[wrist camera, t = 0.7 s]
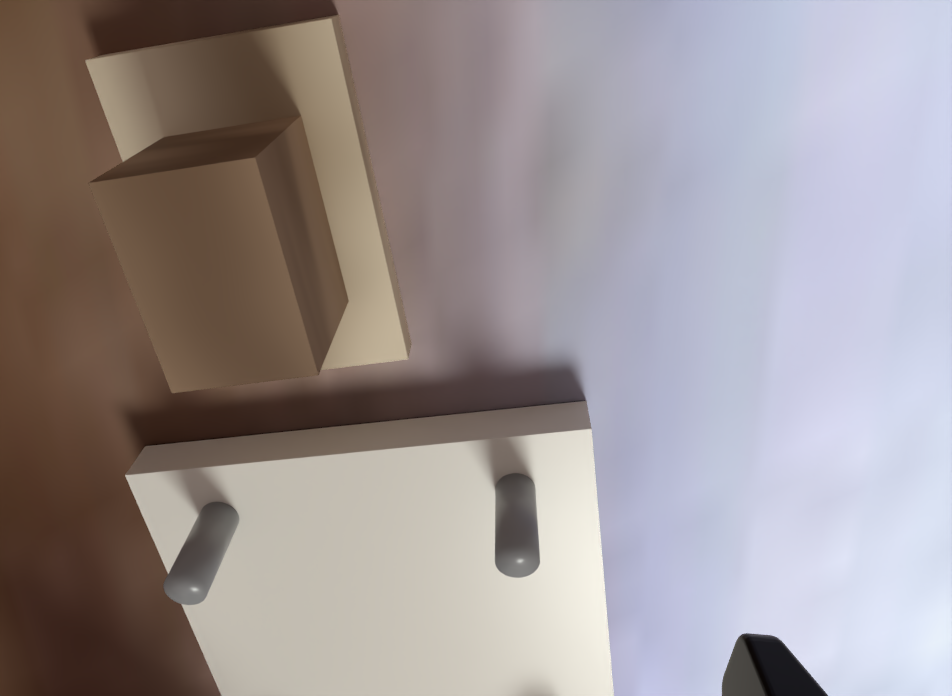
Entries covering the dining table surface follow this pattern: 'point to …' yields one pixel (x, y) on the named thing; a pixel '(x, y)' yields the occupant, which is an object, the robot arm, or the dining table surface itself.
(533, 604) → the chassis
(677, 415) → the dining table surface
